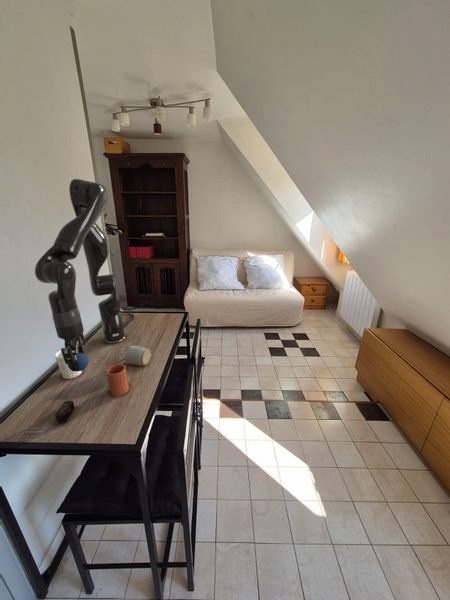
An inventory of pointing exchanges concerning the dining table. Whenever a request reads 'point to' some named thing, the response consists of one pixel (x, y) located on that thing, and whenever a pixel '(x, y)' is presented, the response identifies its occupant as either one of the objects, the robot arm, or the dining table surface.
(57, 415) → the wireless earbuds
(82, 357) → the ball
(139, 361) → the ceramic mug
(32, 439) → the dining table surface
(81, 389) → the dining table surface
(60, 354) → the white cup
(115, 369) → the cup
